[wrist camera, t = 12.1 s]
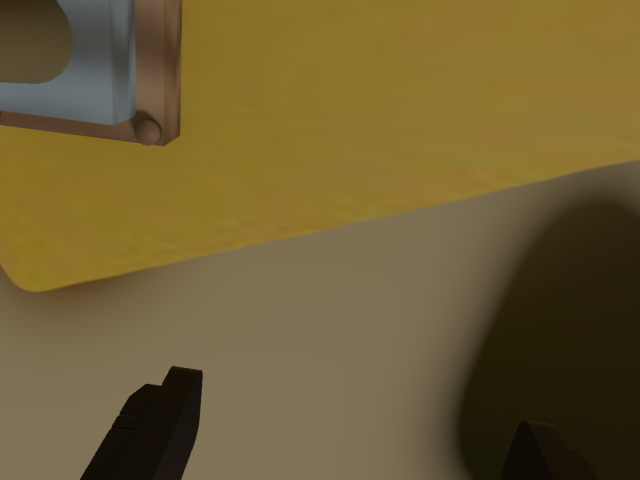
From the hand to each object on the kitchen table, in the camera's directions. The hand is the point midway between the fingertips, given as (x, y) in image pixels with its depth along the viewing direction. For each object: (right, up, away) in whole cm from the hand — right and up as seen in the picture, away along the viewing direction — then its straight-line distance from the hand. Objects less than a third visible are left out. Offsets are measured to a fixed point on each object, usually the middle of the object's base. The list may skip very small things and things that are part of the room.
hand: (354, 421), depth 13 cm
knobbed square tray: (-18, +20, +27) cm, 38 cm away
